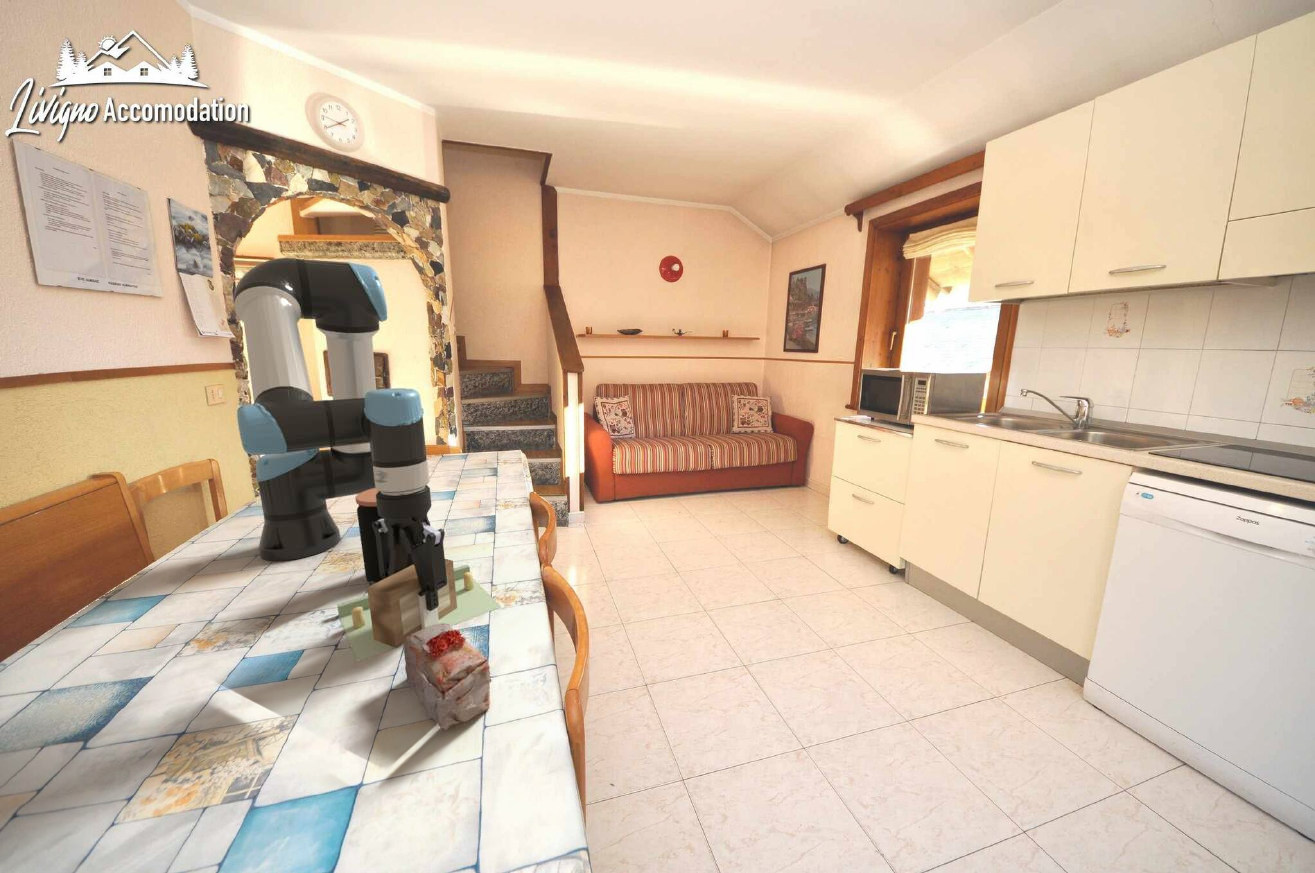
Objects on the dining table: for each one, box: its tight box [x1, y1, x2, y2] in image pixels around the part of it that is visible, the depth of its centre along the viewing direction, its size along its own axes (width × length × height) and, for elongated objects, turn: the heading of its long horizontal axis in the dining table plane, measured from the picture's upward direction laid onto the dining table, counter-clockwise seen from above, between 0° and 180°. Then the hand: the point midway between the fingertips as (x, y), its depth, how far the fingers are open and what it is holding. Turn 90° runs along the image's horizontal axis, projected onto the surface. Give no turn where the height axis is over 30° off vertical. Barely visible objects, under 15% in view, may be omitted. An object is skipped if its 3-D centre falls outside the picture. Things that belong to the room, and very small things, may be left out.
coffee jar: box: [354, 488, 421, 584], centre depth 95 cm, size 11×11×18 cm
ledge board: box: [336, 564, 502, 663], centre depth 82 cm, size 16×22×4 cm
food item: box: [403, 623, 492, 732], centre depth 63 cm, size 14×8×10 cm, turn 49°
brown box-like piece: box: [366, 558, 457, 649], centre depth 78 cm, size 5×12×9 cm, turn 157°
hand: (417, 621), depth 78 cm, fingers closed on brown box-like piece, 5 cm apart
